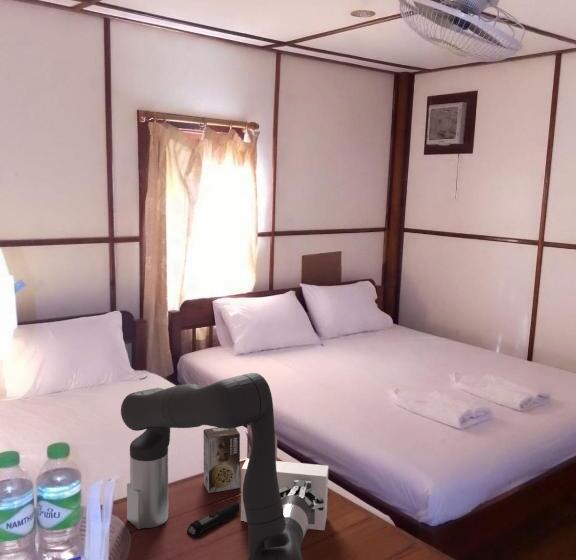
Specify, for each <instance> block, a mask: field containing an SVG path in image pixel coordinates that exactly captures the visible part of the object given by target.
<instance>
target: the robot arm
mask: <svg viewBox="0 0 576 560" xmlns="http://www.w3.org/2000/svg"><path fill="white" fill-rule="evenodd" d="M268 383H269V382H268V381H267V380H266V379H265V377H264V376H262V375H261V374H259V373H257V372H249V373H245V374H241V375H237V376H233V377H228V378H224V379H221V380H218V381H216V382H214V383H211V384H209V385H205V386H202V385H199V384H196V383H195V384H194V383H187V384H186V383H184V384H178V385H174V386H170V387H167V388H162V387H155V388H149V389H145V390H139V391H135V392H131V393H129V394H128V395H126V396H125V397H124V399H123V400H122V403H121V405H120V416H121V419H122V422H123V423H124V425H125V426H126V427H127V428H128V429H129V430H132V431H134V432H135V431H137V432H139V431H144V430H145V431H144V432H143V433H141V434H140V435H139V436H137V437H136V438H134V439H133V440H132V441H131V442H130V444H129V482H127V483H126V515H127V516H126V519H127V521H129V522H130V523H131V524H132V525H133V526H134V527H135V528H136V529H138V530H141V529H147V528H148V529H149V528H155V527H158V526H161V525H163V524H165V523H166V522H167V520H168V519H169V445H170V440H171V429H191V428H192V429H193V428H198V427H202V426H209V427H212V428H225V429H230V428H236V429H237V428H239V427H243V426H246V425H247V426H248V425H249V424H250V425H249V426H251V430H252V448H251V454H250V458H249V463H248V466H247V470H246V474H245V478H244V483H243V503H244V508H245V513H246V518H247V522H246V523H247V527H248V528H247V529H248V553H247V560H303V557H302V552H301V549H302V548H301V547H302V544H303V543H302V542H303V541H304V540H303V539H304V538H305V535H306V533H307V531H308V529H307V528H308V522H309V518H310V515H311V513H313V512H314V509H318V510H320V511H322V510H324V499H323V498H322V497H321V496H320V495H319V494H317V493H316V492H315V491H314V490H313V489H308V483H306V482H305V480H299V482H296V484H295V486H294V487H293V488H291V487H289V486H288V487H285V488H282V489H280V490H279V486H278V480H277V471H276V454H275V435H276V433H275V418H274V417H275V416H274V414H275V413H274V402H273V395H272V391H271V388H270V385H269V384H268ZM285 492H286V495H284V493H285Z"/></svg>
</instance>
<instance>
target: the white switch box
mask: <svg viewBox="0 0 576 560" xmlns="http://www.w3.org/2000/svg"><path fill="white" fill-rule="evenodd" d="M248 463H249V458H247V457H246V459H245V461H244V463H243V465H242V467H241V470H240V522H241V521H244V522H243V523H247V518H246V513H245V508H244V503H243V483H244V478H245V474H246V470H247V466H248ZM276 471H277V480H278V486H279V490H280V489H282V488H285V487H288V486H289V487H291V488H293V487H294V481H295V480H305V481H311V489H313V490H314V491H315V492H316V493H317V494H319V495H320V496H321V497H322V498H323V499H324V510H322V511H320V510H318V509H314V512H313V513H311V515H310V518H309V522H308V528H307V530H317V531H318V530H319V531H325V530H326V529H325V528H326V523H327V515H328V514H327V513H328V491H329V489H328V488H329V487H328V486H329V465H323V464H313V463H305V462H302V463H300V462H290V461H281V460H277V461H276ZM284 495H286V492H285V493H284Z"/></svg>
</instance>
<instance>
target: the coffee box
mask: <svg viewBox="0 0 576 560" xmlns="http://www.w3.org/2000/svg"><path fill="white" fill-rule="evenodd" d="M203 484H204V487H205V489H206V490H207V493H208V494H212V493H217V492H222V491H228V490H229V491H230V490H234V489H235V490H236V489H241V434H240V432H239V431H238V429H237V427H236V428H230V429H225V428H218V427H212V428H205V429H203Z"/></svg>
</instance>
